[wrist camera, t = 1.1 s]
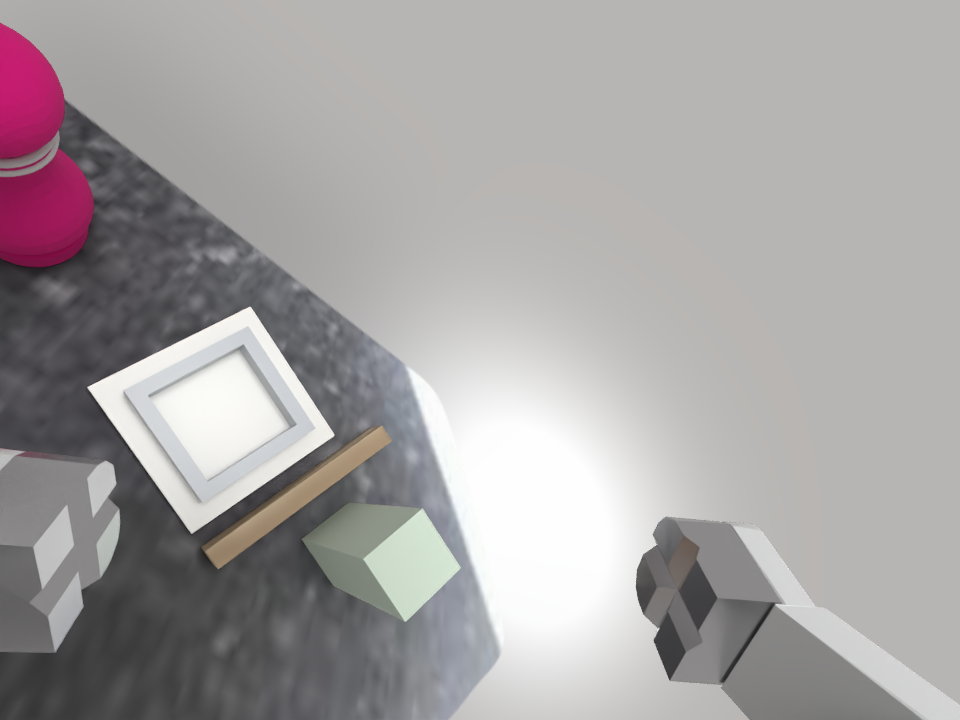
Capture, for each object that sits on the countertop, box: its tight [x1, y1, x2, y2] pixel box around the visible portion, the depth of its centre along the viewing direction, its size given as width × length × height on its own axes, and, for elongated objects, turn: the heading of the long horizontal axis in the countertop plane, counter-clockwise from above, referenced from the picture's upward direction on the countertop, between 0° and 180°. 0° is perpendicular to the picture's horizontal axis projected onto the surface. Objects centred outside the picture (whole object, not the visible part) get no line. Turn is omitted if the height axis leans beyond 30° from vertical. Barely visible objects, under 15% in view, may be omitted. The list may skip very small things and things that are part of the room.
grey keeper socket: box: [87, 307, 335, 534], centre depth 41 cm, size 12×12×3 cm
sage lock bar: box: [302, 503, 460, 622], centre depth 40 cm, size 4×4×14 cm
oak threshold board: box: [201, 426, 391, 569], centre depth 43 cm, size 2×15×3 cm, turn 128°
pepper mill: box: [0, 23, 94, 267], centre depth 31 cm, size 7×7×20 cm
